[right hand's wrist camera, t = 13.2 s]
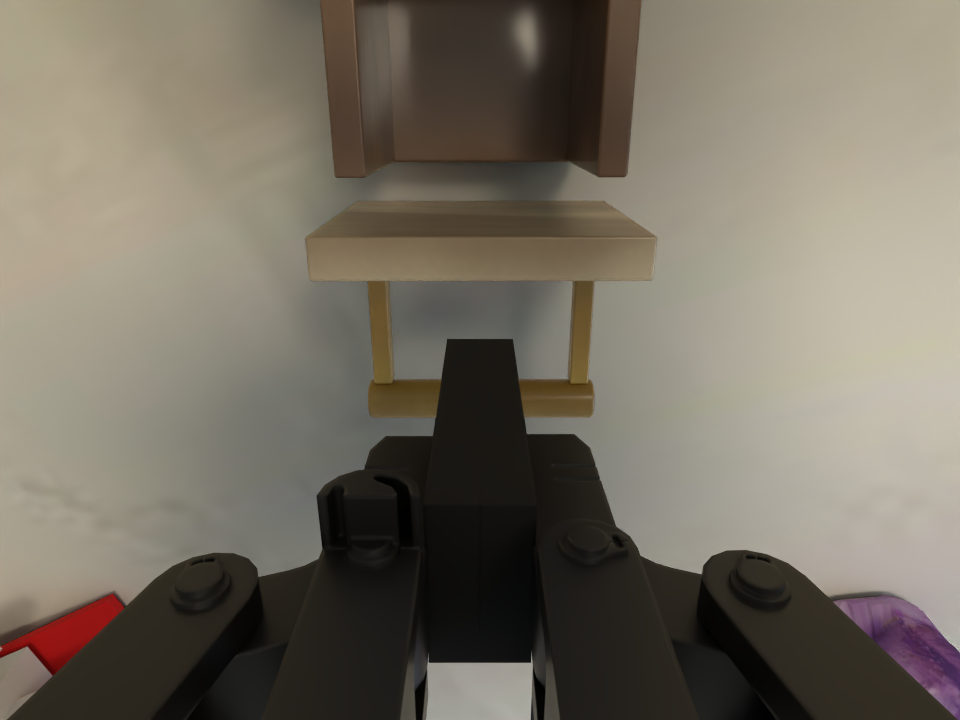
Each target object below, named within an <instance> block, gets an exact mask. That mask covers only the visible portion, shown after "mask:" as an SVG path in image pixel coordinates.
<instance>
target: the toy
mask: <svg viewBox="0 0 960 720" xmlns="http://www.w3.org/2000/svg"><path fill="white" fill-rule="evenodd" d="M123 609H124V607H123V606H122V604H121V603H120V602H119V601H118V599H117V598H116V597H115V596H114V594H111V595H109V596H106V597H104V598H102V599H100V600H98V601H96V602H94V603H92V604H89V605H87V606H85V607H83V608H81V609H79V610H77V611H75V612H72V613H70V614H68V615H66V616H64V617H62V618H60V619H58V620H55V621H53V622H51V623H49V624H47V625H45V626H43V627H41V628H38V629H36V630H34V631H32V632H30V633H28V634H26V635H24V636H22V637H19V638H17V639H15V640H13V641H11V642H9V643H7V644H5V645H2V646H0V720H7V719H8V718H9V717H10V716H11V715H12V714H13V713H14V712H15V711H16V710H18V709H19V708H20V707H21V706H22V705H23V704H24V703H25V702H26V701H27V700H28V699H29V698H30V697H31V696H32V695H33V694H34V693H35V692H36V691H38V690H39V689H40V688H41V687H42V686H43V685H44V684H45V683H46V682H47V681H48V680H49V679H50V678H51V677H52V676H53V675H54V674H55V673H57V672H58V671H59V670H60V669H61V668H62V667H63V666H64V665H65V664H66V663H67V662H68V661H69V660H70V659H71V658H72V657H73V656H74V655H75V654H77V653H78V652H79V651H80V650H81V649H82V648H83V647H84V646H85V645H86V644H87V643H88V642H89V641H90V640H91V639H92V638H93V637H94V636H96V635H97V634H98V633H99V632H100V631H101V630H102V629H103V628H104V627H105V626H106V625H107V624H108V623H109V622H110V621H111V620H112V619H113V618H114V617H116V616H117V615H118V614H119V613H120V612H121V611H122V610H123Z"/></svg>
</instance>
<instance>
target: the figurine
mask: <svg viewBox="0 0 960 720" xmlns="http://www.w3.org/2000/svg"><path fill="white" fill-rule="evenodd" d="M833 602H834V603H835V604H836V605H837V606H838V607H839V608H840V609H841V610H842V611H843V612H844V613H845V614H846V615H847V616H848V617H850V618H851V619H852V620H853V621H854V622H855V623H856V624H857V625H858V626H859V627H860V628H861V629H862V630H863V631H864V632H865V633H867V634H868V635H869V636H870V637H871V638H872V639H873V640H874V641H875V642H876V643H877V644H878V645H879V646H880V647H881V648H882V649H884V650H885V651H886V652H887V653H888V654H889V655H890V656H891V657H892V658H893V659H894V660H895V661H896V662H897V663H898V664H899V665H900V666H902V667H903V668H904V669H905V670H906V671H907V672H908V673H909V674H910V675H911V676H912V677H913V678H914V679H915V680H916V681H917V682H919V683H920V684H921V685H922V686H923V687H924V688H925V689H926V690H927V691H928V692H929V693H930V694H931V695H932V696H933V697H934V698H936V699H937V700H938V701H939V702H940V703H941V704H942V705H943V706H944V707H945V708H946V709H947V710H948V711H949V712H950V713H951V714H953V715H954V716H955V717H956V718H957V719H958V720H960V652H959V651H958V650H957V649H956V648H955V647H954V646H953V645H951V644H950V643H949V642H948V641H947V640H946V639H945V638H944V637H943V635H942V634H941V633H940V632H939V631H938V630H937V628H936V627H935V626H934V625H933V623H932V622H931V621H930V620H929V618H928V617H927V616H926V615H925V613H924V612H923V611H922V610H920V609H919V608H918V607H916V606H915V605H913V604H911V603H909V602H907V601H904V600H902V599H899V598H896V597H893V596H887V595H881V596H876V597H864V598H852V599H842V600H836V601H833Z"/></svg>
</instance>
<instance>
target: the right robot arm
mask: <svg viewBox="0 0 960 720" xmlns="http://www.w3.org/2000/svg"><path fill="white" fill-rule="evenodd" d="M317 504H318V513H319V522H320V531H321V540H322V548H323V549H322V552H321V554H320V557H319V559H318V560H316V561H314V562H311V563H309V564H307V565H305V566H302V567H299V568H295V569H292V570H289V571H284V572H280V573H275V574H271V575H266V576H262V577H258V571H257V568H256V567H255V566H254V565H253V563H252V562H251V561H250V560H249V559H248V558H245V557H242V556H239V555H237V554H234V553H211V554H207V555H202V556H197V557H193V558H190V559H188V560H186V561H184V562H181V563H179V564H177V565H174V566H172V567H171V568H169V569H168V570H167V571H165V572H164V573H163V574H161V575H160V576H158V577H157V578H156V579H155V580H153V581H152V582H151V583H150V584H149V585H148V586H147V587H146V588H145V589H144V590H143V591H142V592H141V593H140V594H139V595H138V596H137V597H136V598H135V599H133V600H132V601H131V602H130V603H129V604H128V605H127V606H126V607H125V608H124V609H123V610H122V611H121V612H120V613H119V614H118V615H117V616H116V617H114V618H113V619H112V620H111V621H110V622H109V623H108V624H107V625H106V626H105V627H104V628H103V629H102V630H101V631H100V632H99V633H98V634H97V635H96V636H94V637H93V638H92V639H91V640H90V641H89V642H88V643H87V644H86V645H85V646H84V647H83V648H82V649H81V650H80V651H79V652H78V653H77V654H75V655H74V656H73V657H72V658H71V659H70V660H69V661H68V662H67V663H66V664H65V665H64V666H63V667H62V668H61V669H60V670H59V671H58V672H57V673H55V674H54V675H53V676H52V677H51V678H50V679H49V680H48V681H47V682H46V683H45V684H44V685H43V686H42V687H41V688H40V689H39V690H38V691H36V692H35V693H34V694H33V695H32V696H31V697H30V698H29V699H28V700H27V701H26V702H25V703H24V704H23V705H22V706H21V707H20V708H19V709H18V710H16V711H15V712H14V713H13V714H12V715H11V716H10V717H9V718H8V719H7V720H426V714H427V702H428V680H427V663H428V653H429V663H531V649H532V660H533V680H532V704H531V720H958V719H957V718H956V717H955V716H954V715H953V714H951V713H950V712H949V711H948V710H947V709H946V708H945V707H944V706H943V705H942V704H941V703H940V702H939V701H938V700H937V699H936V698H934V697H933V696H932V695H931V694H930V693H929V692H928V691H927V690H926V689H925V688H924V687H923V686H922V685H921V684H920V683H919V682H917V681H916V680H915V679H914V678H913V677H912V676H911V675H910V674H909V673H908V672H907V671H906V670H905V669H904V668H903V667H902V666H900V665H899V664H898V663H897V662H896V661H895V660H894V659H893V658H892V657H891V656H890V655H889V654H888V653H887V652H886V651H885V650H884V649H882V648H881V647H880V646H879V645H878V644H877V643H876V642H875V641H874V640H873V639H872V638H871V637H870V636H869V635H868V634H867V633H865V632H864V631H863V630H862V629H861V628H860V627H859V626H858V625H857V624H856V623H855V622H854V621H853V620H852V619H851V618H850V617H848V616H847V615H846V614H845V613H844V612H843V611H842V610H841V609H840V608H839V607H838V606H837V605H836V604H835V603H834V602H833V601H831V600H830V599H829V598H828V597H827V596H826V595H825V594H824V593H823V592H822V591H821V590H820V589H819V588H818V587H817V586H816V585H814V584H813V583H812V582H811V581H810V580H809V579H808V578H807V577H806V576H805V575H803V574H802V573H801V572H799V571H798V570H796V569H795V568H794V567H792V566H791V565H789V564H788V563H786V562H783V561H781V560H779V559H777V558H774V557H772V556H770V555H767V554H762V553H757V552H753V551H748V550H733V551H725V552H722V553H719V554H716V555H713V556H712V557H711V558H710V559H709V560H708V561H707V562H706V563H705V565H704V566H703V571H702V575H701V574H697V573H692V572H688V571H683V570H679V569H674V568H670V567H667V566H663V565H660V564H657V563H654V562H652V561H650V560H648V559H646V558H644V557H642V556H640V554H639V551H638V548H637V547H636V545H635V544H634V542H633V541H632V539H631V538H630V536H629V535H627V534H626V533H624V532H623V531H622V530H620V529H619V528H617V527H616V525H615V522H614V519H613V516H612V513H611V510H610V507H609V504H608V501H607V498H606V495H605V492H604V489H603V486H602V483H601V481H600V477H599V474H598V471H597V468H596V467H595V462H594V459H593V456H592V453H591V450H590V448H589V447H588V446H587V445H586V444H585V443H584V442H582V441H581V440H580V439H579V438H578V437H577V436H576V435H574V434H527V433H526V426H525V420H524V413H523V406H522V399H521V392H520V386H519V379H518V372H517V365H516V359H515V352H514V345H513V339H447V345H446V352H445V359H444V365H443V372H442V379H441V386H440V392H439V399H438V406H437V413H436V420H435V426H434V433H433V436H386V437H384V438H383V439H382V440H381V441H380V442H379V443H378V444H377V445H375V446H374V447H373V448H372V449H371V450H370V452H369V455H368V458H367V461H366V464H365V469H364V470H357V471H354V472H351V473H348V474H344V475H341V476H339V477H337V478H335V479H334V480H332V481H331V482H329V483H327V484H326V485H325V486H324V487H323V488H322V489H321V491H320V492H319V493H318V495H317Z"/></svg>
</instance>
